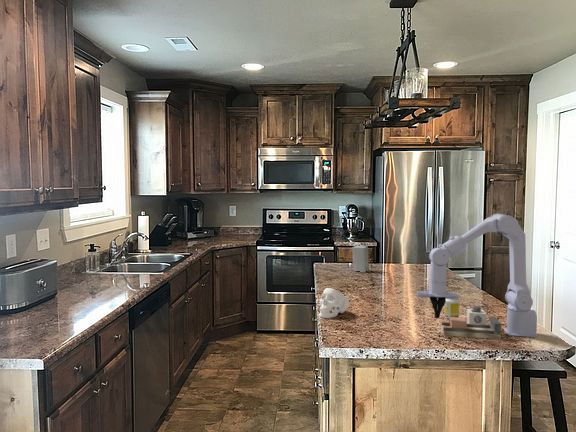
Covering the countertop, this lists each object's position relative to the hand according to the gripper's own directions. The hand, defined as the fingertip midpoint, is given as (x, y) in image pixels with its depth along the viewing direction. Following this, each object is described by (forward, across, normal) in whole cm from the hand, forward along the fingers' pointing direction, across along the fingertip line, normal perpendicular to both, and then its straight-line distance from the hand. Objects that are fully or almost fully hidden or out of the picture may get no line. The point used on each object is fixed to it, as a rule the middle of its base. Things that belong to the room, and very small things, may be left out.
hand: (437, 317), depth 173 cm
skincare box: (+5, -36, +116) cm, 121 cm away
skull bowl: (+6, -40, +15) cm, 43 cm away
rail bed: (+5, +12, 0) cm, 13 cm away
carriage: (+3, +7, 0) cm, 8 cm away
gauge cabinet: (+5, +16, +11) cm, 20 cm away
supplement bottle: (+5, +8, +20) cm, 22 cm away
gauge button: (+3, +15, +11) cm, 19 cm away
